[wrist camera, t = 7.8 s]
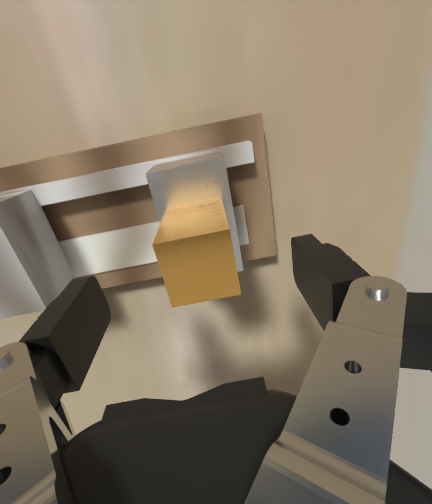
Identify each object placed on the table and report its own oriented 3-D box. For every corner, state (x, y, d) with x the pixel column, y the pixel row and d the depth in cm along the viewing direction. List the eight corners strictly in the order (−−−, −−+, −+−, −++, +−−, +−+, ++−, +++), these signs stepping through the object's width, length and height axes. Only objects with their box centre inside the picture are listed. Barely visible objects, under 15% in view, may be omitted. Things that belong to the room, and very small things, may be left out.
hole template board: (17, 296, 24) (-44, 354, 18) (-54, 179, 19) (-165, 205, 14) (272, 247, 23) (296, 291, 17) (257, 113, 19) (283, 110, 13)
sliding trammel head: (182, 252, 20) (170, 336, 13) (157, 162, 18) (122, 196, 10) (235, 242, 20) (257, 320, 12) (219, 149, 17) (234, 173, 10)
